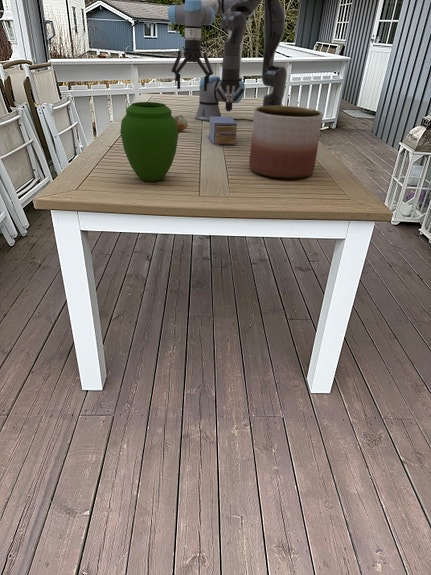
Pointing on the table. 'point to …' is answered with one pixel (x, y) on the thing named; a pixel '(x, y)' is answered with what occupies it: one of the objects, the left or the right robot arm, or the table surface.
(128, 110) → the vase
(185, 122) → the seashell
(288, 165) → the planter
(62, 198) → the table surface
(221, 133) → the drawer
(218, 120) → the cabinet
